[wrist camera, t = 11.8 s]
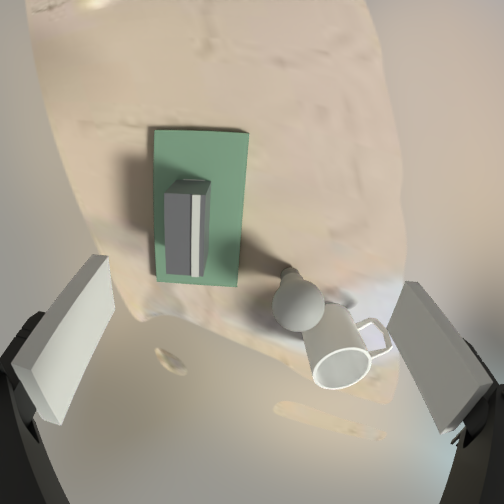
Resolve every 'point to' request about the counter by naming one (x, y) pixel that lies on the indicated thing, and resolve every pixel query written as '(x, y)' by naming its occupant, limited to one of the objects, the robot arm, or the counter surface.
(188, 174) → the board
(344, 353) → the cup
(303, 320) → the lightbulb
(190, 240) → the block
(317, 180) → the counter surface
